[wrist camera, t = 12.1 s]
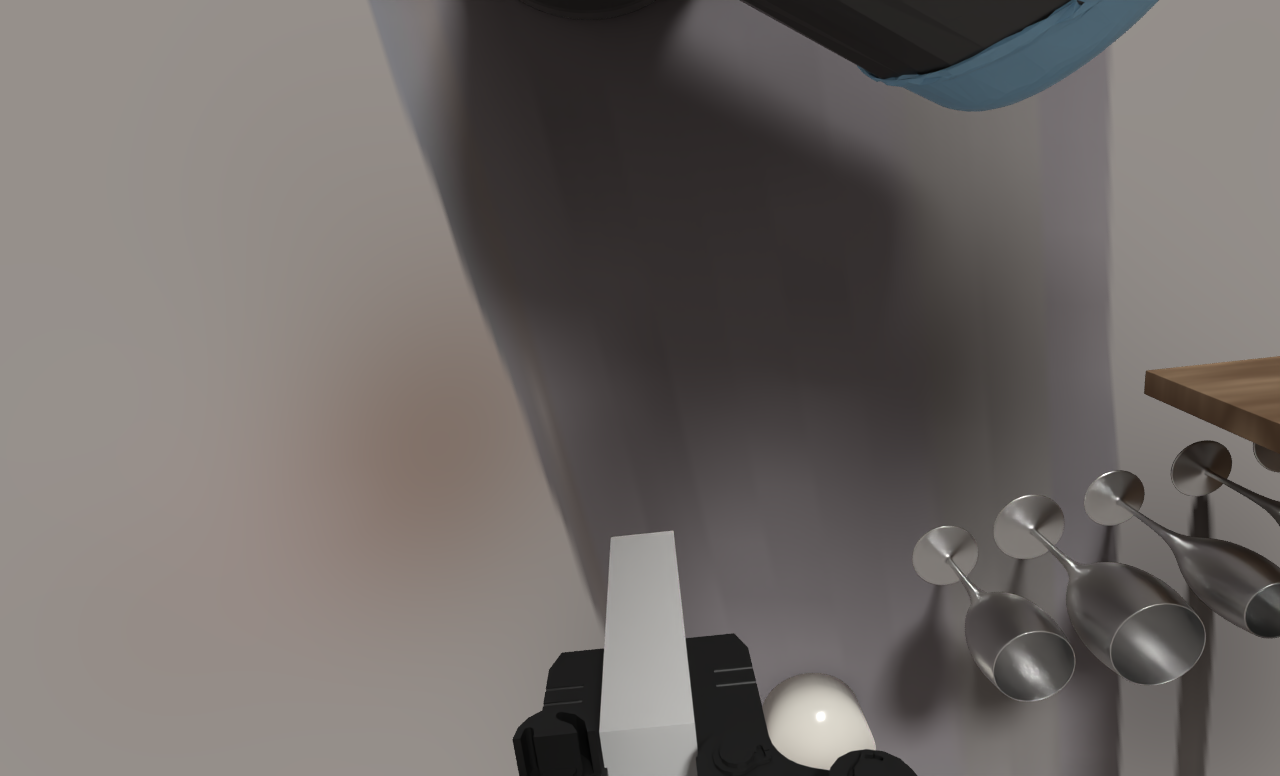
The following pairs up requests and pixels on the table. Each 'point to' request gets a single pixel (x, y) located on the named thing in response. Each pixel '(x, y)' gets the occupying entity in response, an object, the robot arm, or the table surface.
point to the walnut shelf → (1226, 396)
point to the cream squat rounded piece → (815, 720)
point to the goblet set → (1109, 585)
